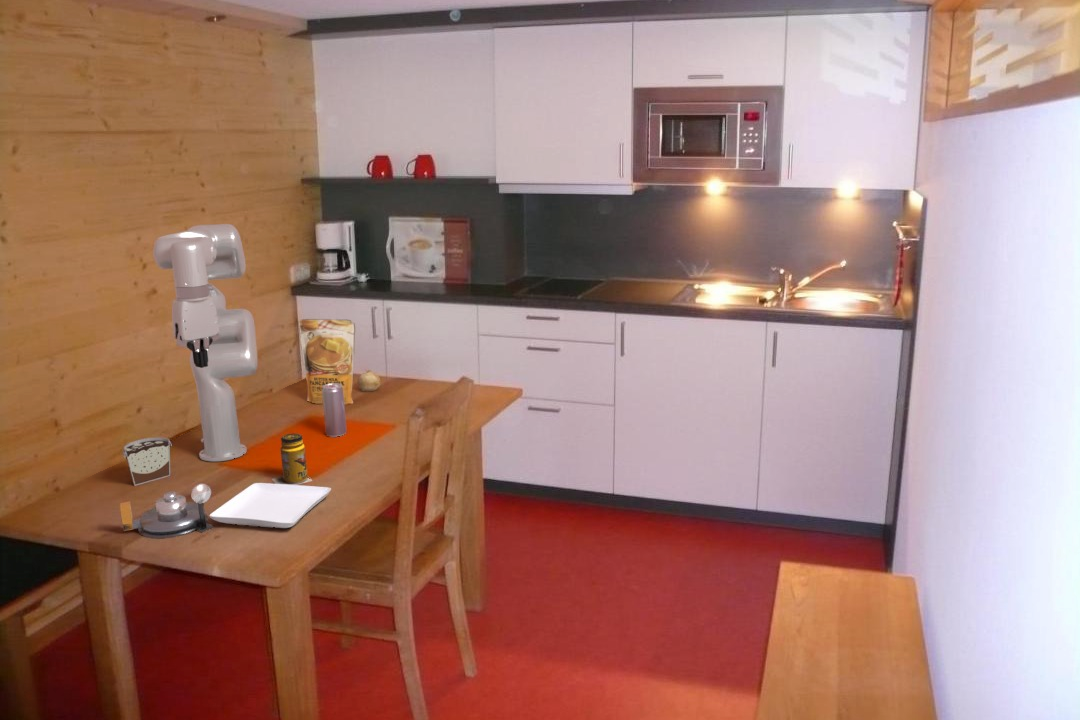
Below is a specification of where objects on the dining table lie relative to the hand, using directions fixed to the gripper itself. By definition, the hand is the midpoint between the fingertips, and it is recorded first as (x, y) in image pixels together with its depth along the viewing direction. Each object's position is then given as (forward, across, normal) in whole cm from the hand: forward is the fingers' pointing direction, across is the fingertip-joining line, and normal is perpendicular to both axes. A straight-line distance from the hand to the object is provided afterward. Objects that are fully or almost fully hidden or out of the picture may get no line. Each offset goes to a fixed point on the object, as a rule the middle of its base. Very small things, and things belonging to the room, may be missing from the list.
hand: (201, 366), depth 224 cm
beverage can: (+32, -45, -10) cm, 56 cm away
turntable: (+31, +20, +11) cm, 39 cm away
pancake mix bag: (+32, -65, -39) cm, 82 cm away
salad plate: (+33, 0, +25) cm, 41 cm away
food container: (+32, +7, -22) cm, 40 cm away
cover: (+30, +19, +13) cm, 37 cm away
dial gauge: (+32, +15, +20) cm, 41 cm away
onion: (+32, -82, -40) cm, 97 cm away
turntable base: (+32, +18, +12) cm, 39 cm away
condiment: (+32, -15, +11) cm, 37 cm away
